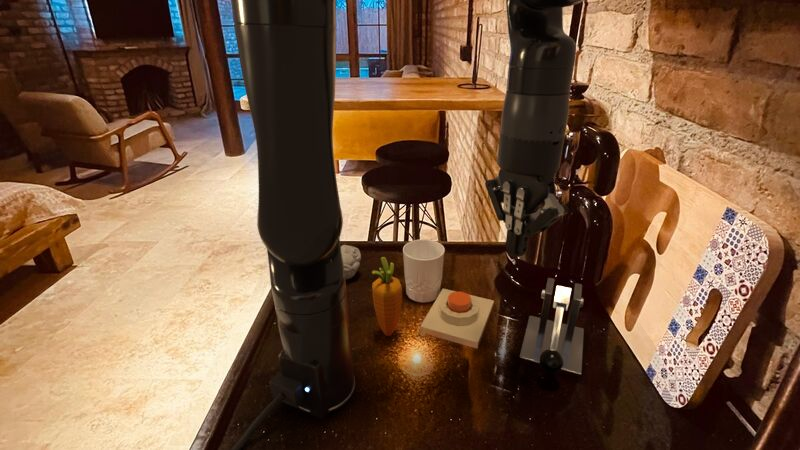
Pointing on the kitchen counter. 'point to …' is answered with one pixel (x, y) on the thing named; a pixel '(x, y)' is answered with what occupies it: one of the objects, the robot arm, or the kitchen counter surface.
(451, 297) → the button
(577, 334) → the bracket
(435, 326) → the control block
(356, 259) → the frog figurine
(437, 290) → the white cup
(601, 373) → the kitchen counter surface
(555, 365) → the lever
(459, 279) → the kitchen counter surface
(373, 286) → the carrot
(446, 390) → the kitchen counter surface
